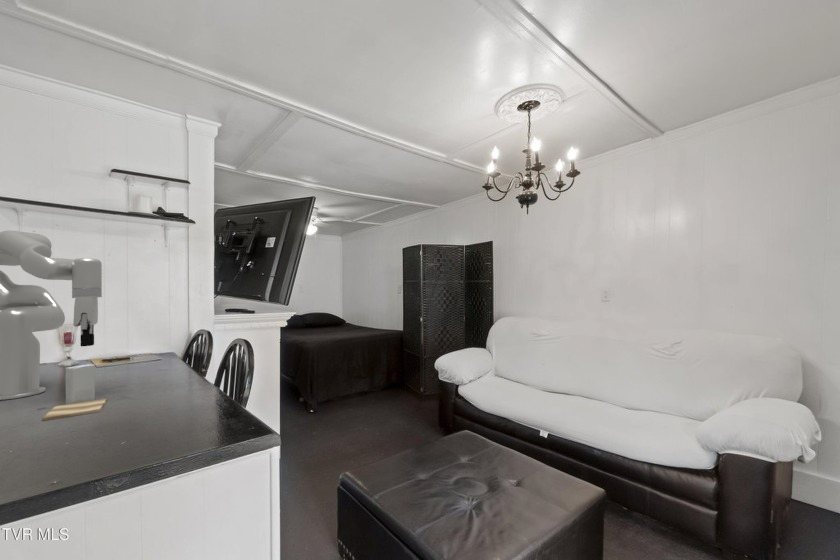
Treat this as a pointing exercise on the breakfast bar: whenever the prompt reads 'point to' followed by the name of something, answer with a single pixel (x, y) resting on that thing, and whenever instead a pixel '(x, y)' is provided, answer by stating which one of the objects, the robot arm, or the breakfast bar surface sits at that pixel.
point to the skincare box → (80, 383)
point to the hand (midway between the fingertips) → (87, 345)
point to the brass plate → (75, 409)
